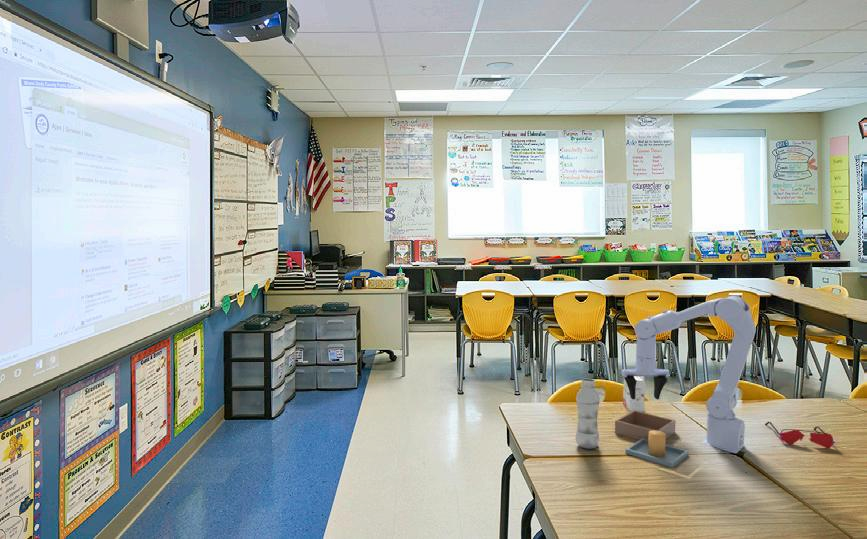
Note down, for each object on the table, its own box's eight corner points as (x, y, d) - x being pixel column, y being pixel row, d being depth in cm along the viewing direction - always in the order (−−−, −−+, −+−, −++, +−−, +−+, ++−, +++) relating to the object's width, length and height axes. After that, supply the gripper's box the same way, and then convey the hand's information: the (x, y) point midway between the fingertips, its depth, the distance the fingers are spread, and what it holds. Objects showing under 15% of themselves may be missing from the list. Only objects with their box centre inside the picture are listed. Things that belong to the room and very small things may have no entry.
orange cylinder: (667, 454, 149) (668, 433, 149) (661, 458, 146) (661, 437, 145) (652, 449, 152) (652, 429, 152) (645, 454, 149) (646, 433, 149)
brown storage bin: (675, 434, 164) (675, 420, 164) (657, 447, 155) (657, 432, 155) (633, 423, 174) (634, 410, 173) (614, 434, 165) (615, 420, 164)
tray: (688, 457, 148) (688, 451, 148) (672, 469, 141) (672, 463, 140) (642, 443, 157) (642, 438, 157) (625, 455, 150) (625, 449, 150)
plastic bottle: (600, 452, 152) (601, 384, 150) (575, 450, 153) (577, 382, 151) (598, 443, 158) (599, 377, 156) (574, 441, 159) (575, 376, 158)
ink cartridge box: (621, 405, 192) (622, 365, 191) (635, 405, 192) (636, 365, 191) (630, 413, 184) (631, 371, 182) (644, 413, 183) (645, 371, 182)
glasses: (779, 445, 157) (780, 428, 157) (764, 425, 173) (765, 410, 172) (835, 451, 153) (836, 434, 152) (814, 430, 168) (815, 415, 168)
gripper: (663, 353, 173) (661, 394, 174) (618, 353, 173) (617, 394, 174) (672, 359, 166) (671, 401, 167) (626, 359, 166) (625, 401, 167)
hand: (644, 398), depth 170 cm, fingers open, 7 cm apart
